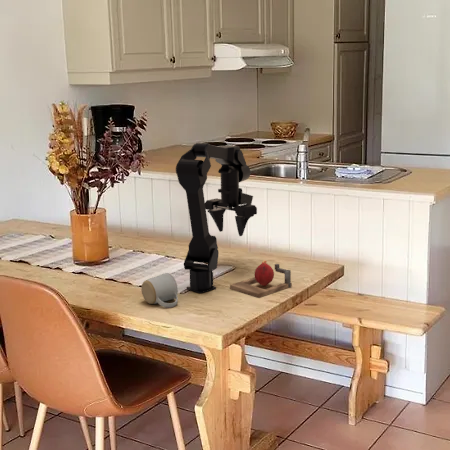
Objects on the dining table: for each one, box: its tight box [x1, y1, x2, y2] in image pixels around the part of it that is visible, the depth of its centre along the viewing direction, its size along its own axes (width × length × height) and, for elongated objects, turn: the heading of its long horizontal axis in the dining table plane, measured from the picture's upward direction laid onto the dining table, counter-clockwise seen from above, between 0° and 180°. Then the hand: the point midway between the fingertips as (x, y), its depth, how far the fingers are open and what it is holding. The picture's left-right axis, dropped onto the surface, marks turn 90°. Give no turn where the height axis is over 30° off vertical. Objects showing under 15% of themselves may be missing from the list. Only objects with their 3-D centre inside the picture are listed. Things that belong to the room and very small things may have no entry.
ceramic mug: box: [140, 272, 179, 309], centre depth 198 cm, size 11×8×8 cm
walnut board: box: [229, 263, 293, 299], centre depth 209 cm, size 14×12×6 cm
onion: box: [254, 260, 275, 287], centre depth 210 cm, size 6×6×8 cm
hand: (230, 233), depth 226 cm, fingers open, 9 cm apart
